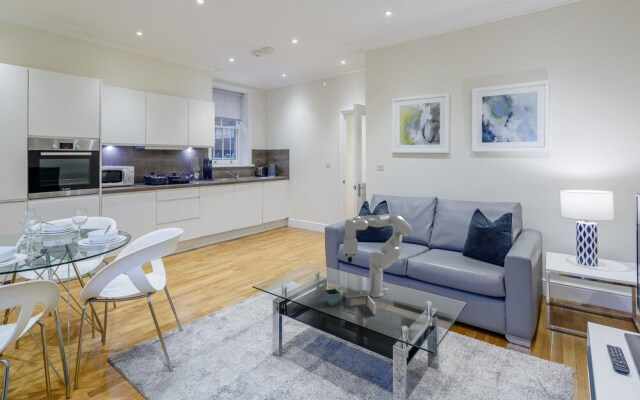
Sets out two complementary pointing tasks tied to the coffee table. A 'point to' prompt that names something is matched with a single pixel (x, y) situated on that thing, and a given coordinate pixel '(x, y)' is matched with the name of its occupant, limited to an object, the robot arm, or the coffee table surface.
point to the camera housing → (355, 298)
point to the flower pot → (332, 296)
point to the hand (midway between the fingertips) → (349, 262)
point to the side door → (371, 305)
